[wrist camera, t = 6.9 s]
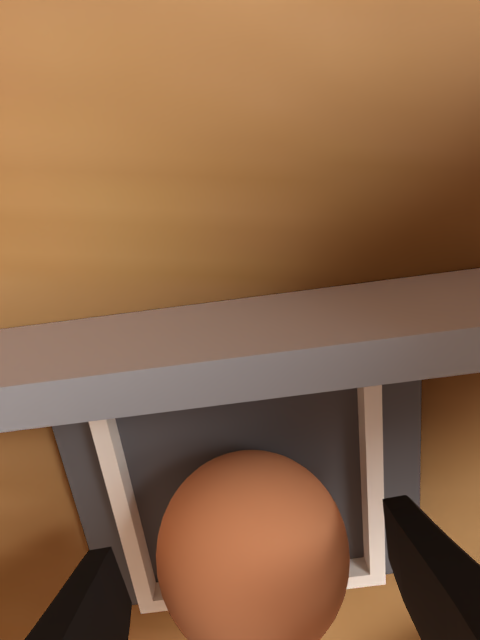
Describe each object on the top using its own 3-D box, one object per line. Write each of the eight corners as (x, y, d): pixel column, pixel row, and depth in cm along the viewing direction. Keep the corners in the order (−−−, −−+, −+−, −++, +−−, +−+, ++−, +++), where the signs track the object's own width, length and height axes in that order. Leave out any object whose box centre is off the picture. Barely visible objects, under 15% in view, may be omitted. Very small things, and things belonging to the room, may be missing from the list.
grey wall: (506, 264, 12) (629, 307, 9) (503, 298, 13) (620, 354, 9) (-59, 336, 13) (-181, 410, 9) (-47, 368, 13) (-160, 453, 9)
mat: (416, 326, 13) (433, 340, 12) (414, 560, 16) (427, 588, 15) (42, 373, 13) (27, 391, 12) (109, 597, 16) (101, 627, 15)
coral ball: (314, 401, 13) (366, 532, 8) (334, 530, 15) (386, 700, 10) (150, 432, 13) (110, 578, 9) (187, 557, 15) (172, 738, 10)
